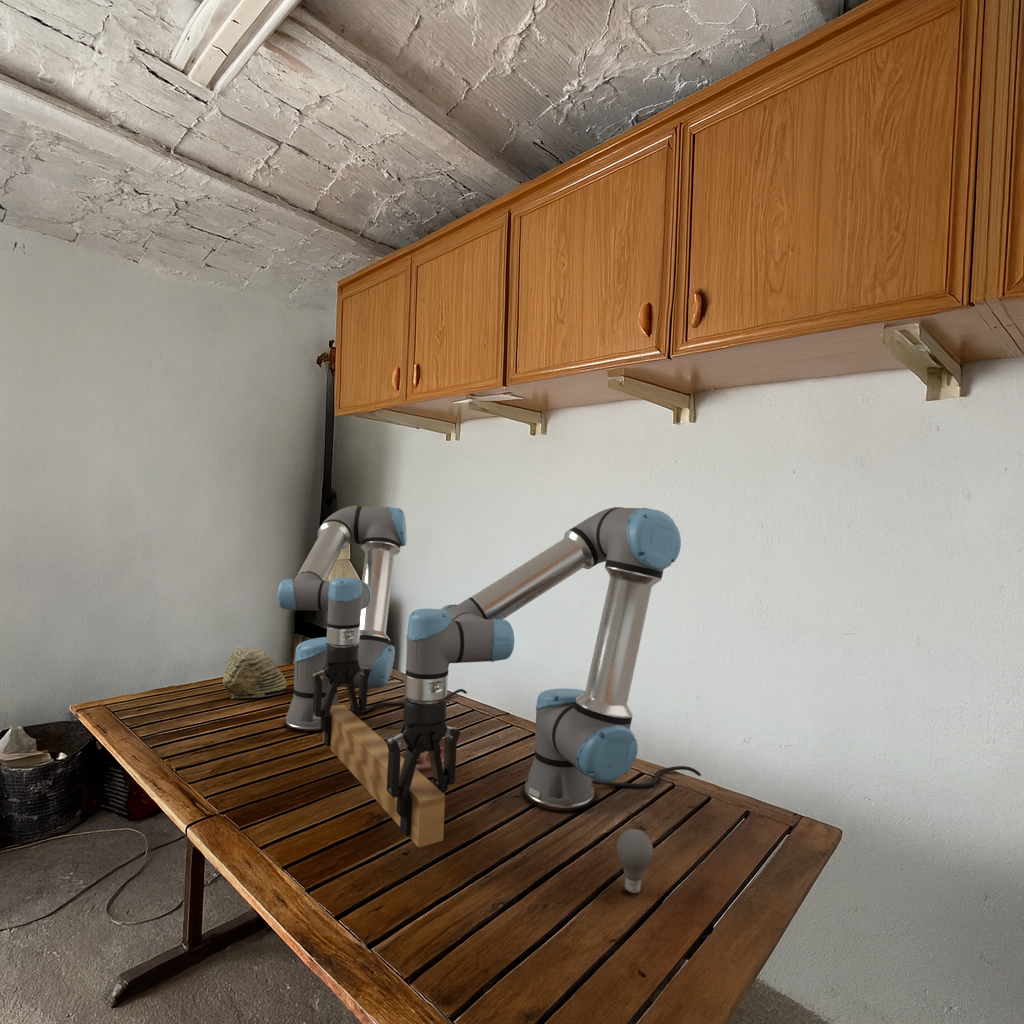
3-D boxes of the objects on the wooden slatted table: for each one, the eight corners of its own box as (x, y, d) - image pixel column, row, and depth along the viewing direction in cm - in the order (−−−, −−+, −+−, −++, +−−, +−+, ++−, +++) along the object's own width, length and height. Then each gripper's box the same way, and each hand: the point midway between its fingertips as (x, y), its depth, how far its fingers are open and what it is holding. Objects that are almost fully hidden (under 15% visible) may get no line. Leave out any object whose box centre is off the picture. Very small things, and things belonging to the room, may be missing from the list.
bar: (322, 740, 152) (324, 707, 152) (342, 737, 154) (343, 704, 154) (418, 847, 107) (420, 800, 107) (443, 840, 110) (445, 794, 109)
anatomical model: (382, 758, 144) (400, 740, 156) (381, 775, 145) (400, 756, 156) (437, 765, 142) (452, 746, 153) (436, 783, 142) (451, 763, 153)
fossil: (218, 695, 195) (220, 647, 195) (278, 685, 208) (279, 640, 207) (228, 703, 189) (230, 653, 188) (289, 692, 201) (290, 645, 201)
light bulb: (610, 879, 108) (613, 822, 108) (644, 879, 109) (647, 822, 109) (619, 902, 102) (622, 840, 102) (655, 901, 103) (658, 840, 103)
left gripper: (309, 650, 141) (304, 755, 141) (384, 644, 151) (380, 741, 151) (300, 643, 147) (295, 743, 147) (373, 638, 157) (369, 731, 157)
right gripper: (386, 711, 104) (379, 852, 104) (479, 697, 114) (473, 826, 114) (369, 698, 110) (363, 831, 110) (459, 686, 120) (453, 808, 120)
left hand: (338, 742), depth 149 cm, fingers closed on bar, 5 cm apart
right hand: (419, 828), depth 112 cm, fingers closed on bar, 5 cm apart
